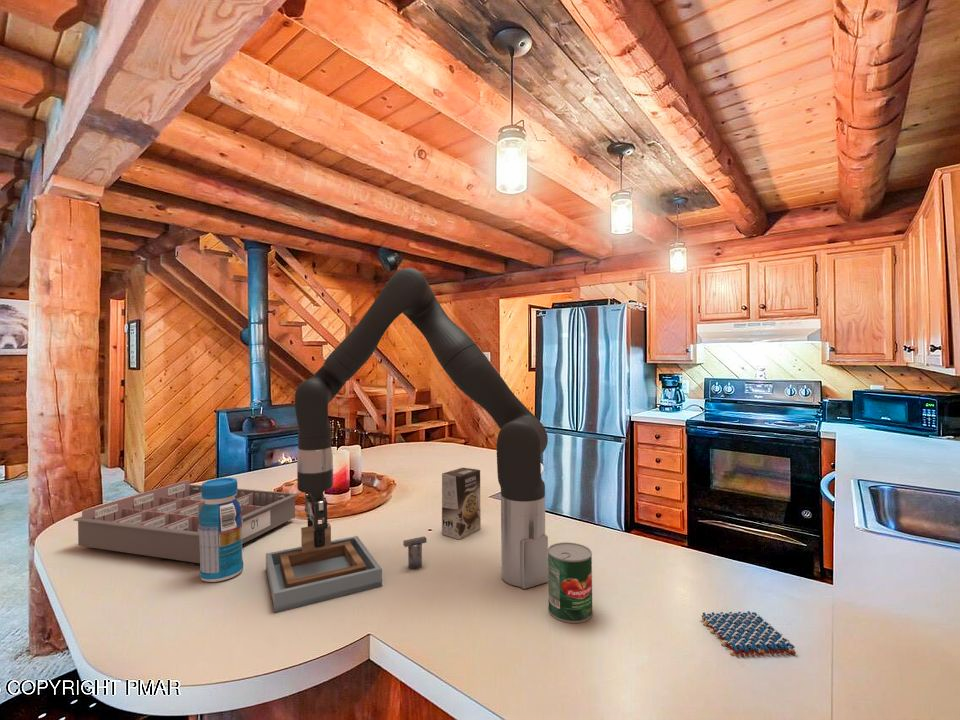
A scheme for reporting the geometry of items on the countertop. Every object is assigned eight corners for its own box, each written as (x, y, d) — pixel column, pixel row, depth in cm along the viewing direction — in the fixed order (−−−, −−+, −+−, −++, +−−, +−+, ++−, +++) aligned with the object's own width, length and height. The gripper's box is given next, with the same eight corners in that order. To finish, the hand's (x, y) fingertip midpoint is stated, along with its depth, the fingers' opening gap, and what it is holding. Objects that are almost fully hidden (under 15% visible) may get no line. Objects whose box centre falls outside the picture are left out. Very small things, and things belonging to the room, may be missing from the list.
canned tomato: (561, 595, 90) (561, 538, 90) (600, 609, 85) (599, 549, 85) (539, 613, 83) (539, 552, 83) (579, 629, 78) (579, 564, 78)
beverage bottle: (192, 585, 95) (189, 488, 94) (207, 567, 103) (205, 477, 103) (237, 580, 96) (234, 484, 96) (248, 563, 105) (246, 474, 104)
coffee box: (460, 540, 117) (459, 476, 117) (441, 534, 121) (440, 472, 121) (481, 529, 124) (481, 469, 124) (463, 524, 128) (462, 466, 128)
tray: (382, 586, 94) (381, 568, 94) (274, 613, 84) (274, 593, 84) (357, 550, 111) (357, 535, 111) (266, 569, 102) (265, 553, 102)
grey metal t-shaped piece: (428, 566, 102) (428, 539, 102) (406, 571, 100) (406, 544, 100) (423, 561, 105) (423, 534, 105) (402, 566, 103) (401, 539, 103)
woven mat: (755, 620, 82) (755, 608, 82) (799, 659, 71) (799, 646, 71) (697, 621, 81) (697, 610, 81) (732, 661, 71) (732, 648, 71)
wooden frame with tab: (366, 578, 95) (366, 541, 95) (288, 597, 88) (287, 557, 88) (349, 551, 108) (348, 519, 108) (279, 565, 101) (279, 531, 101)
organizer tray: (203, 572, 101) (202, 526, 101) (72, 552, 112) (72, 511, 112) (299, 521, 132) (298, 486, 132) (189, 509, 143) (188, 477, 143)
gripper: (339, 472, 99) (340, 547, 99) (326, 459, 112) (327, 526, 112) (302, 476, 96) (302, 555, 96) (293, 463, 108) (293, 532, 108)
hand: (316, 539), depth 104 cm, fingers open, 8 cm apart
